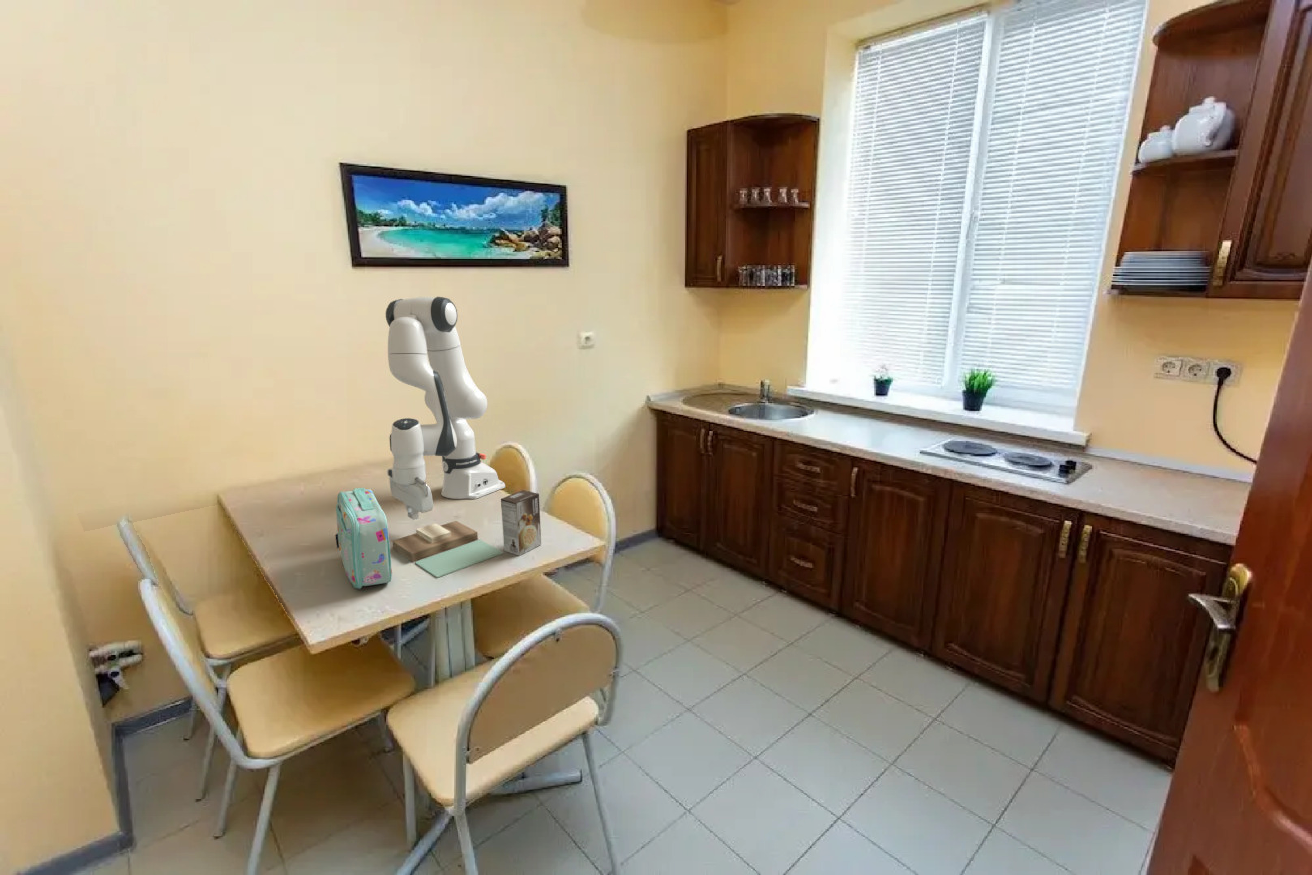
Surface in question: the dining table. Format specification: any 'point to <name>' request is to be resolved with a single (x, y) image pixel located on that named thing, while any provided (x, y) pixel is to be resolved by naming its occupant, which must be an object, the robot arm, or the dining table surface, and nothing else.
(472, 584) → the dining table surface
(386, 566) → the lunch box
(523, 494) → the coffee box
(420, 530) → the birch tile
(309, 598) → the dining table surface
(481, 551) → the sage mat
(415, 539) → the walnut deck
